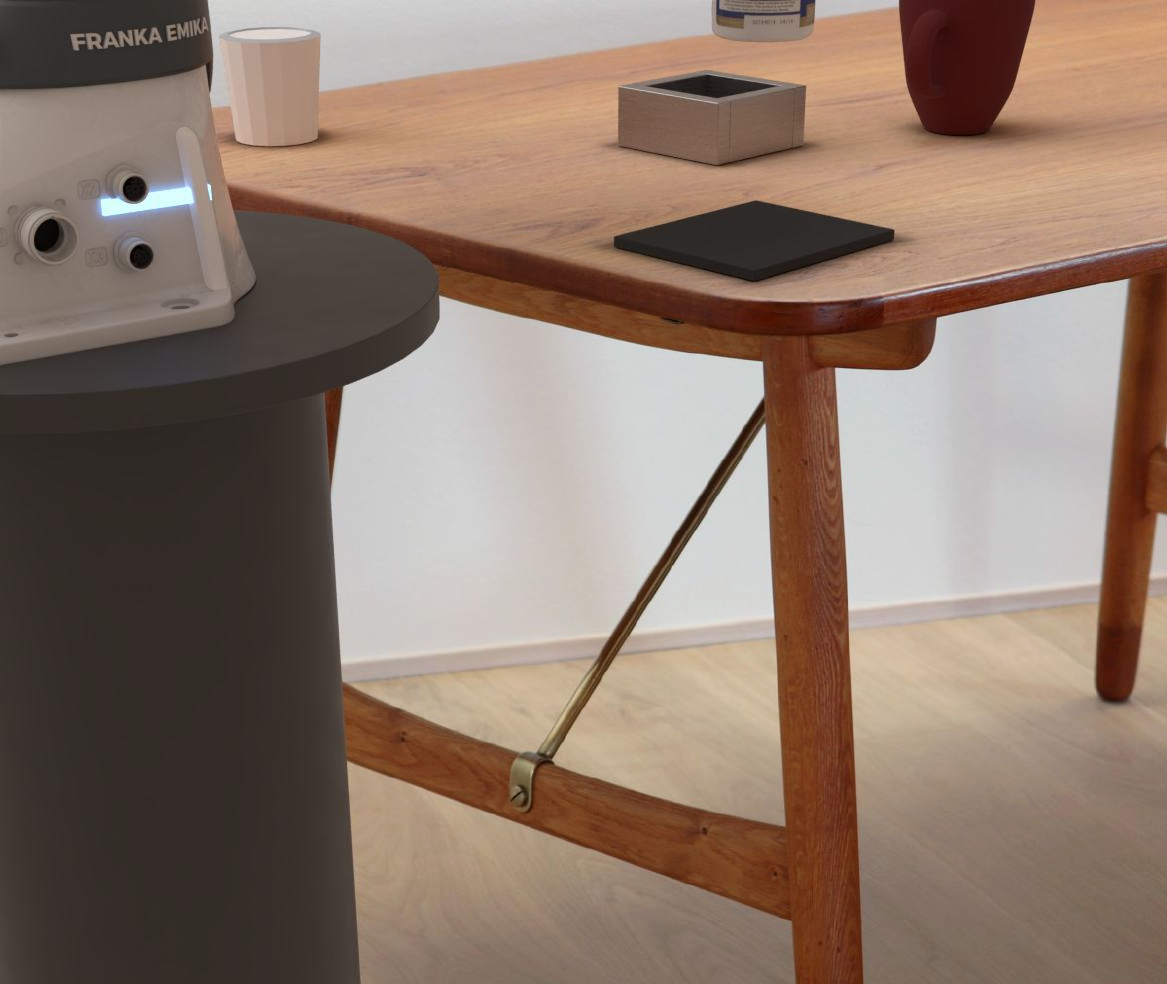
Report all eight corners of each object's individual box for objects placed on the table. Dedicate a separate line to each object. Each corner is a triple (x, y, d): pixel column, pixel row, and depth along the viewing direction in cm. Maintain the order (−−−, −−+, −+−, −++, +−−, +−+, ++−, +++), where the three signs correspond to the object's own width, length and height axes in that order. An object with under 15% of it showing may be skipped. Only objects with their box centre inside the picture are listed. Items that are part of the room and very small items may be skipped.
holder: (716, 165, 121) (718, 102, 119) (617, 145, 126) (617, 85, 125) (803, 145, 127) (806, 85, 125) (704, 127, 132) (706, 69, 131)
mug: (989, 155, 124) (1005, -25, 119) (858, 142, 127) (868, -33, 123) (1038, 123, 133) (1054, -44, 129) (914, 112, 137) (926, -51, 132)
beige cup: (290, 151, 125) (283, 43, 122) (206, 142, 128) (197, 36, 125) (346, 133, 130) (340, 29, 128) (263, 125, 133) (256, 23, 130)
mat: (754, 281, 96) (754, 270, 95) (613, 246, 102) (613, 236, 102) (894, 239, 103) (895, 229, 103) (755, 210, 110) (755, 199, 110)
